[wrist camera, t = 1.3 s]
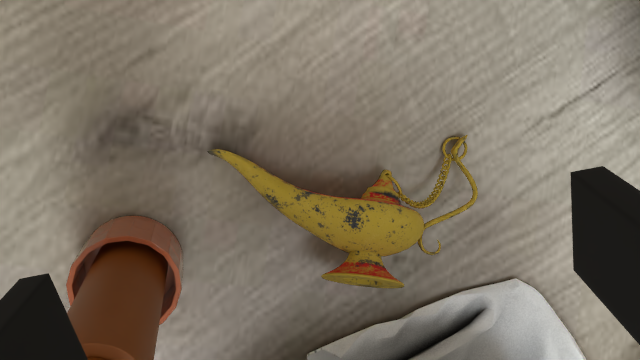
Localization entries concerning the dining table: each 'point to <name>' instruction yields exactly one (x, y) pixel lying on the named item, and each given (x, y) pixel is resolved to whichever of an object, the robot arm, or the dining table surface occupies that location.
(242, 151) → the dining table surface
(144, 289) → the bottle
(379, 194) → the magic lamp
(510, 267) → the dining table surface
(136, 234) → the terracotta round cup
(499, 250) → the dining table surface
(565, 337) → the cloth
